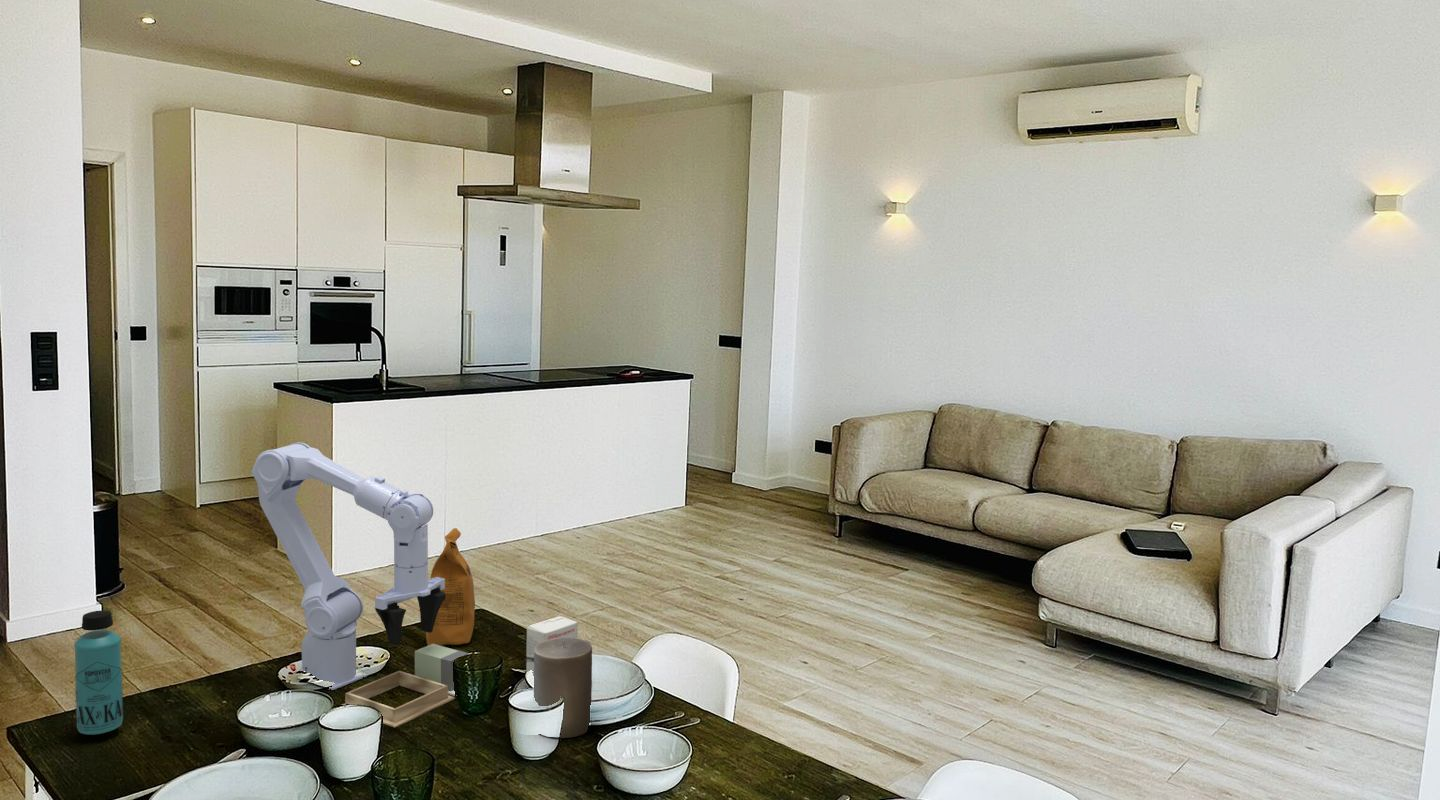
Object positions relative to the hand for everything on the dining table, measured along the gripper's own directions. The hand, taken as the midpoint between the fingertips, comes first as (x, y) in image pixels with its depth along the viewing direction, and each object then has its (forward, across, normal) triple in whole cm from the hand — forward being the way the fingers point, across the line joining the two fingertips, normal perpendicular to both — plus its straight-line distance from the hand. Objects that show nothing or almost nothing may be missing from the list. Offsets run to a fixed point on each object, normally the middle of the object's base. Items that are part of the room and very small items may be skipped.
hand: (411, 637), depth 179 cm
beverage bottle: (+10, -40, +26) cm, 49 cm away
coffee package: (+10, +22, +12) cm, 27 cm away
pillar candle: (+10, +3, -32) cm, 34 cm away
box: (+9, +4, -3) cm, 11 cm away
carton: (+9, -6, -3) cm, 12 cm away
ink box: (+10, +15, -20) cm, 27 cm away
